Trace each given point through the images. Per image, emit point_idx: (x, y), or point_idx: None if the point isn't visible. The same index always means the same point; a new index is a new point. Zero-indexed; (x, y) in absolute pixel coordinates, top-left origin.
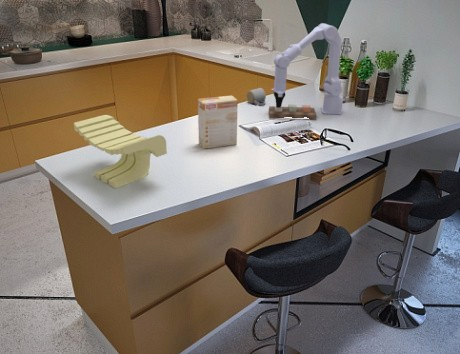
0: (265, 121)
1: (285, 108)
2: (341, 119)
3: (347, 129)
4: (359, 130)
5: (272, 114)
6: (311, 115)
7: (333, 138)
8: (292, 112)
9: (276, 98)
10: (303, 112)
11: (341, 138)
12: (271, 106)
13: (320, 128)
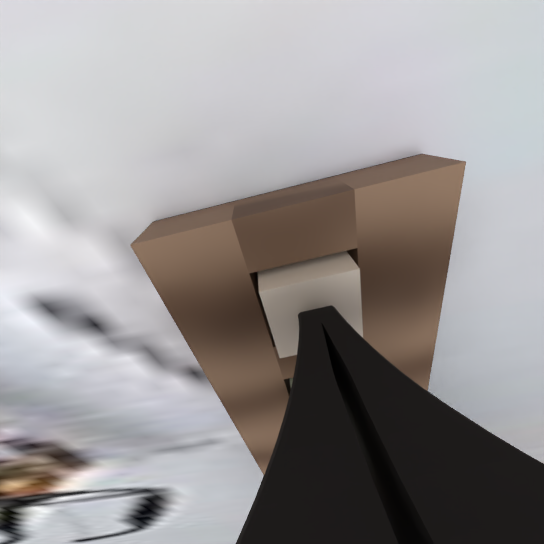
0: (23, 206)
1: (378, 346)
2: None
3: (199, 521)
4: (209, 535)
5: (154, 271)
6: (264, 472)
7: (60, 517)
8: (275, 404)
9: (275, 474)
10: None
11: (83, 526)
12: (450, 199)
13: (151, 480)
